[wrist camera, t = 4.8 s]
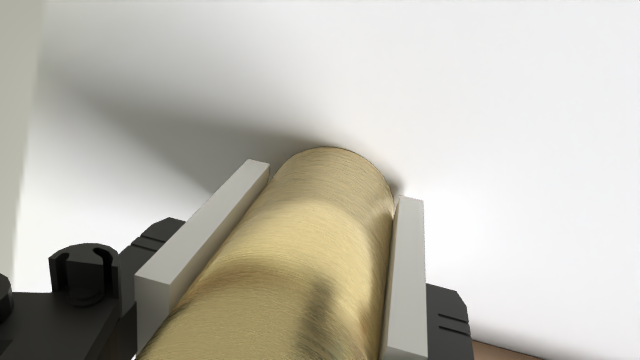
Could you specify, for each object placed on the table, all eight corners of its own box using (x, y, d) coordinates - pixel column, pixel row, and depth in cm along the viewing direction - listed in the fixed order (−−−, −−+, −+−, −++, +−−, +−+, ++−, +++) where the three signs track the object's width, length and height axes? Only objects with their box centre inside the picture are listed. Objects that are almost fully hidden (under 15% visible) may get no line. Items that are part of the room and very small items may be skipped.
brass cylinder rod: (277, 133, 15) (53, 369, 6) (408, 164, 14) (392, 474, 5) (262, 243, 16) (77, 550, 8) (377, 273, 16) (327, 641, 7)
